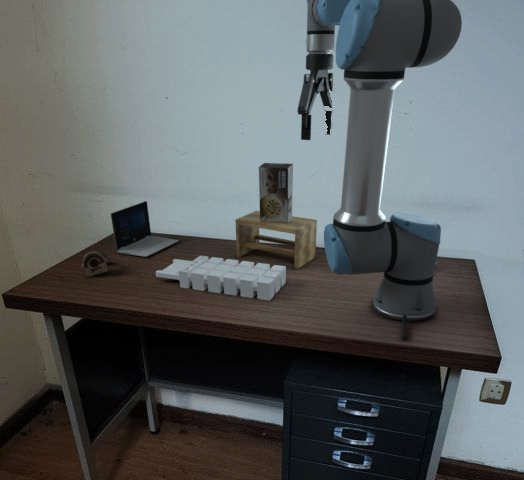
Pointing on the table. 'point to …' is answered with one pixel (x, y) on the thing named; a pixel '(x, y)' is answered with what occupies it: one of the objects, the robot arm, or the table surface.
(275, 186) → the coffee box
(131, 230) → the laptop
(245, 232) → the two-tier rack
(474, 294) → the table surface
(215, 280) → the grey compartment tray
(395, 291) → the robot arm
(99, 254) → the brown rounded piece
